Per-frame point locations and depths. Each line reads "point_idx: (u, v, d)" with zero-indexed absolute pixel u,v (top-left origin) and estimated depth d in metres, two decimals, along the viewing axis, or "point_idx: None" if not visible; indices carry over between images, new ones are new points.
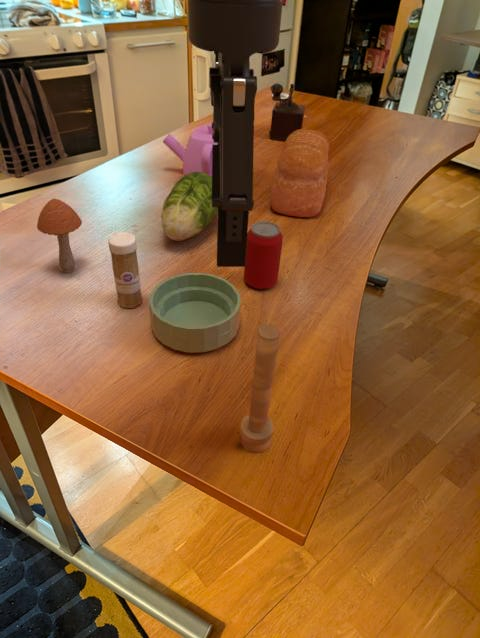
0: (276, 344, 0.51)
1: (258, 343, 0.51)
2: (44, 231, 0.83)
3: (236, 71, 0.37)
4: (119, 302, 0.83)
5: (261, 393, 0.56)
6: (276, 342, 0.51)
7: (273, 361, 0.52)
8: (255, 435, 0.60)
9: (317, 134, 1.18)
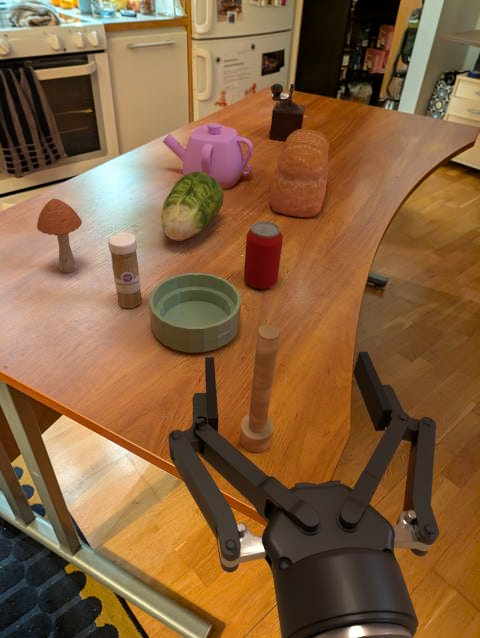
0: (276, 344, 0.51)
1: (258, 343, 0.51)
2: (44, 231, 0.83)
3: None
4: (119, 302, 0.83)
5: (261, 393, 0.56)
6: (276, 342, 0.51)
7: (273, 361, 0.52)
8: (255, 435, 0.60)
9: (317, 134, 1.18)
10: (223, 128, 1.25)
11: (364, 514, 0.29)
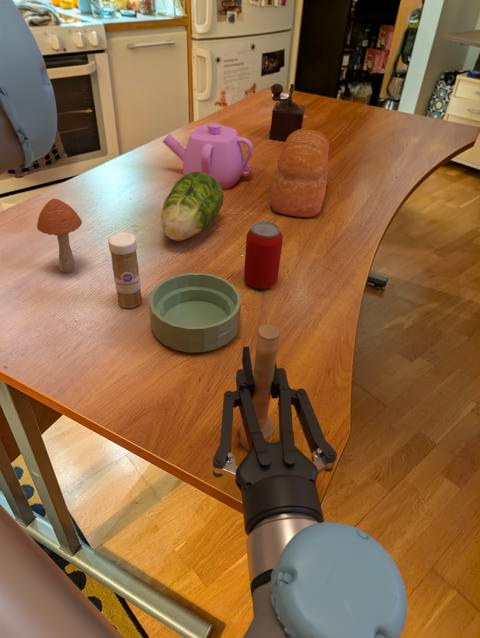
0: (276, 344, 0.51)
1: (258, 343, 0.51)
2: (44, 231, 0.83)
3: None
4: (119, 302, 0.83)
5: (261, 393, 0.56)
6: (276, 342, 0.51)
7: (273, 361, 0.52)
8: None
9: (317, 134, 1.18)
10: (223, 128, 1.25)
11: (299, 460, 0.47)
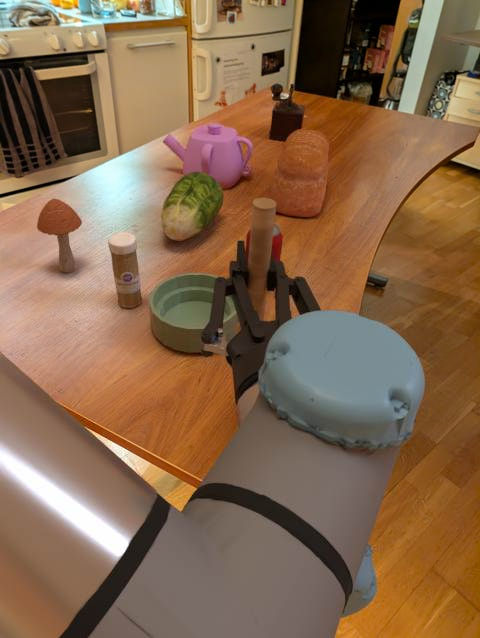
0: (272, 218, 0.46)
1: (253, 217, 0.46)
2: (44, 231, 0.83)
3: None
4: (119, 302, 0.83)
5: (257, 283, 0.51)
6: (272, 215, 0.46)
7: (269, 241, 0.48)
8: None
9: (317, 134, 1.18)
10: (223, 128, 1.25)
11: None
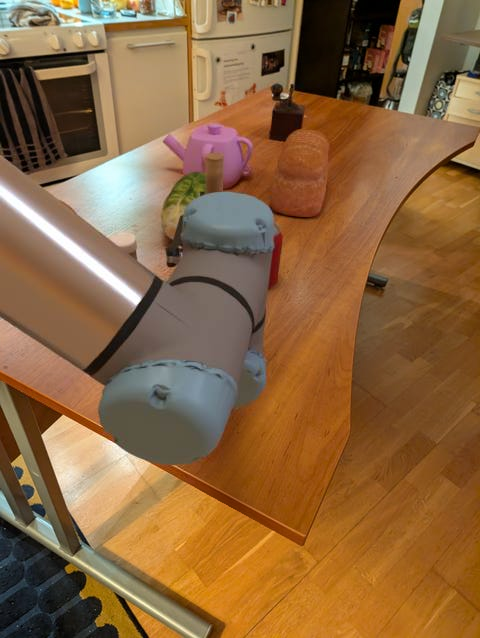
0: (221, 167, 0.62)
1: (206, 167, 0.62)
2: None
3: None
4: None
5: None
6: (220, 165, 0.61)
7: (220, 186, 0.63)
8: None
9: (317, 134, 1.18)
10: (223, 128, 1.25)
11: None
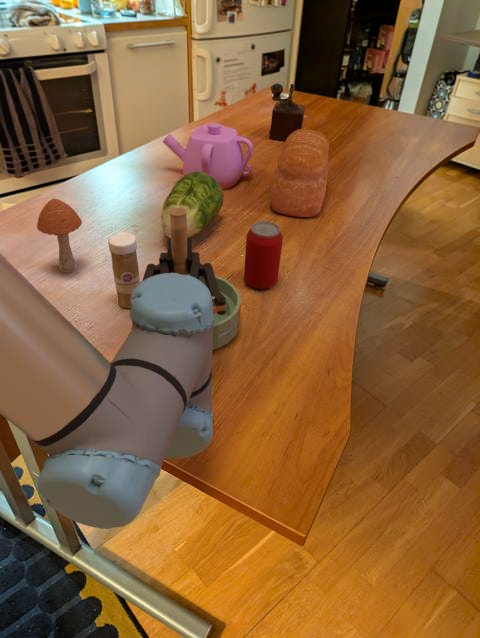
0: (184, 222, 0.67)
1: (170, 221, 0.67)
2: (44, 231, 0.83)
3: None
4: (119, 302, 0.83)
5: (178, 268, 0.72)
6: (183, 220, 0.67)
7: (183, 238, 0.68)
8: None
9: (317, 134, 1.18)
10: (223, 128, 1.25)
11: None
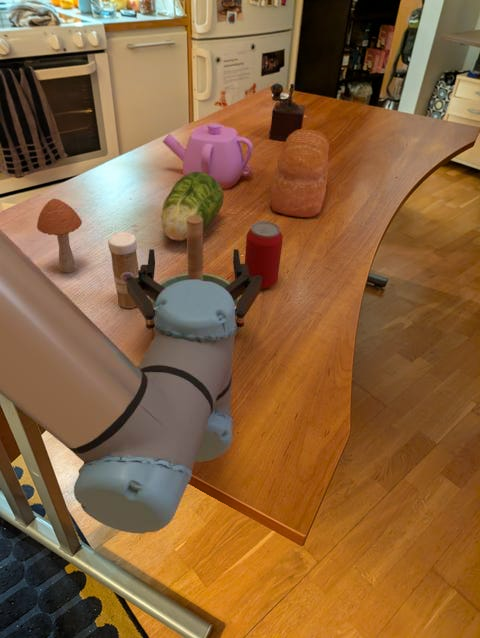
0: (200, 229, 0.68)
1: (187, 229, 0.68)
2: (44, 231, 0.83)
3: None
4: (119, 302, 0.83)
5: (194, 274, 0.72)
6: (200, 227, 0.68)
7: (200, 244, 0.69)
8: None
9: (317, 134, 1.18)
10: (223, 128, 1.25)
11: None
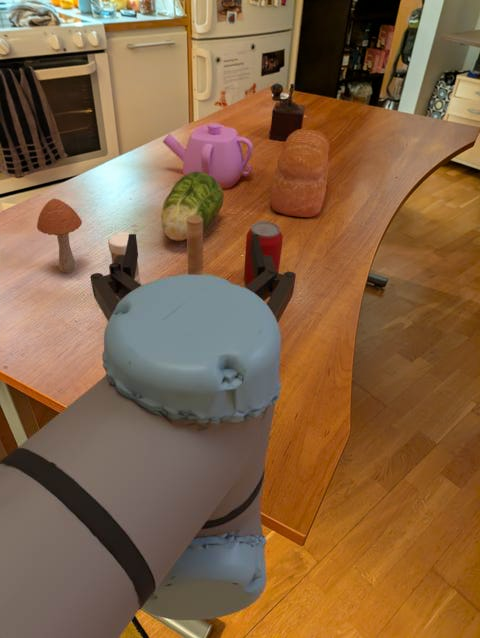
0: (200, 229, 0.68)
1: (187, 229, 0.68)
2: (44, 231, 0.83)
3: None
4: None
5: (194, 274, 0.72)
6: (200, 227, 0.68)
7: (200, 245, 0.69)
8: None
9: (317, 134, 1.18)
10: (223, 128, 1.25)
11: None
